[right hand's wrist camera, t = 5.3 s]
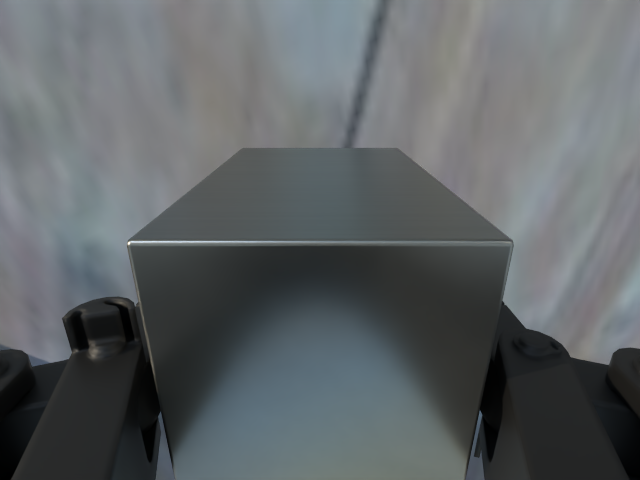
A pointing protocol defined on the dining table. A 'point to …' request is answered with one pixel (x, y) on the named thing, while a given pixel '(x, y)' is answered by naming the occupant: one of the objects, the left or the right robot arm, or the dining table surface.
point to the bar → (320, 318)
